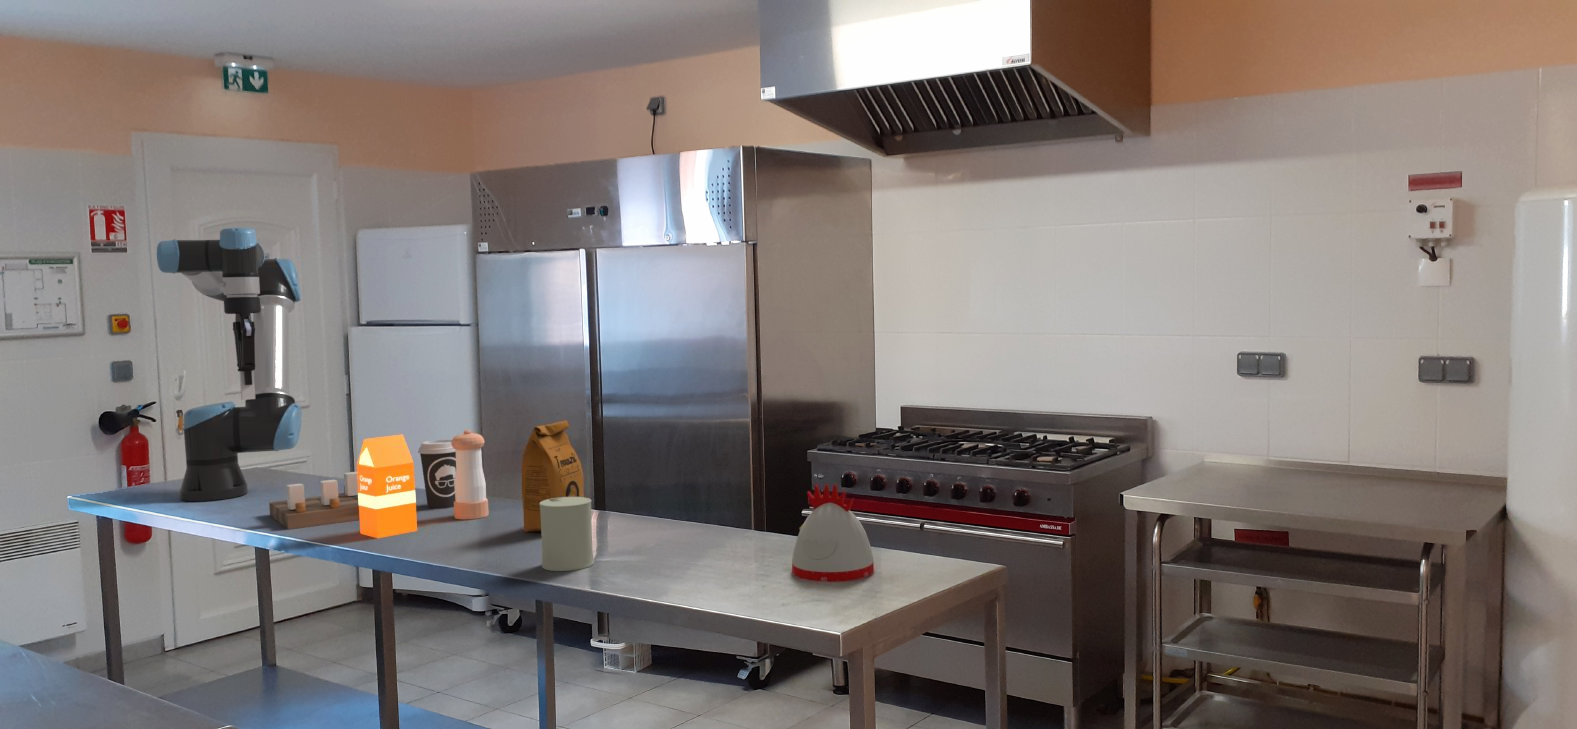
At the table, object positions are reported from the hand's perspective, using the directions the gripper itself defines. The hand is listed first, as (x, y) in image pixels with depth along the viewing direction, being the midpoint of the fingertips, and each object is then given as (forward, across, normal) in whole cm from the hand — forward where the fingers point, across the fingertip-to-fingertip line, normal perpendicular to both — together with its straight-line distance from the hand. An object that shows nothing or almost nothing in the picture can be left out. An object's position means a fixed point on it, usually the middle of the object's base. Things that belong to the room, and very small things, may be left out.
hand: (248, 399), depth 258 cm
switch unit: (+26, +16, +12) cm, 33 cm away
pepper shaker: (+27, +40, +37) cm, 61 cm away
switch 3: (+23, +12, +19) cm, 32 cm away
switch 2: (+23, +20, +12) cm, 33 cm away
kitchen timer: (+27, +131, +68) cm, 150 cm away
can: (+27, +96, +35) cm, 106 cm away
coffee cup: (+27, +23, +36) cm, 50 cm away
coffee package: (+27, +65, +46) cm, 84 cm away
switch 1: (+23, +20, +5) cm, 31 cm away
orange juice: (+27, +44, +18) cm, 54 cm away
